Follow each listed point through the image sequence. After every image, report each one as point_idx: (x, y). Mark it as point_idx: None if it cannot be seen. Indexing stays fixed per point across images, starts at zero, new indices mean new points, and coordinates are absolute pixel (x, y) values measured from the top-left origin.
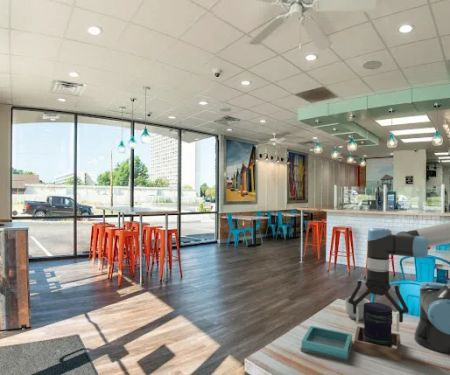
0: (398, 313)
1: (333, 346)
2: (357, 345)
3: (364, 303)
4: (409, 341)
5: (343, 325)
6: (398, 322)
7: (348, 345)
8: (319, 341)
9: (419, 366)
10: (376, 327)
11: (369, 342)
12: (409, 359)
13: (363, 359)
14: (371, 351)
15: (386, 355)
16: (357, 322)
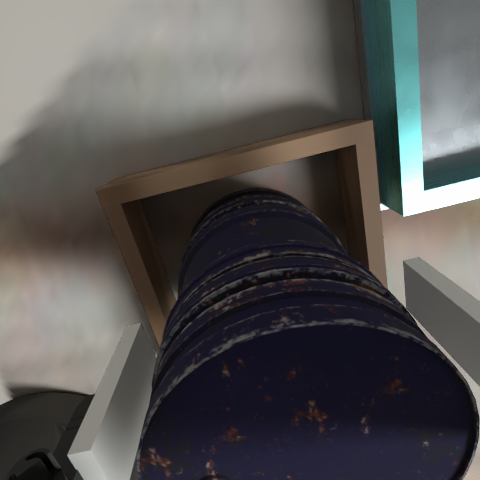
0: (80, 460)
1: (468, 37)
2: (341, 125)
3: (471, 459)
4: None
5: None
6: (108, 377)
7: (392, 2)
8: None
9: (31, 187)
10: (260, 240)
11: (288, 200)
12: (94, 230)
13: (277, 40)
14: (259, 143)
15: (182, 163)
16: (414, 264)
